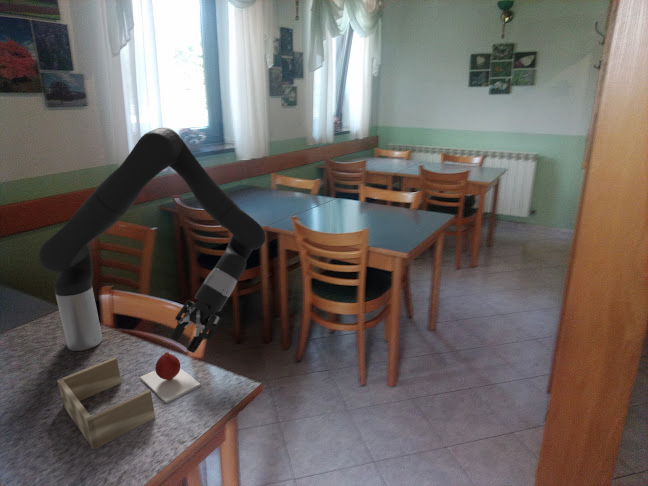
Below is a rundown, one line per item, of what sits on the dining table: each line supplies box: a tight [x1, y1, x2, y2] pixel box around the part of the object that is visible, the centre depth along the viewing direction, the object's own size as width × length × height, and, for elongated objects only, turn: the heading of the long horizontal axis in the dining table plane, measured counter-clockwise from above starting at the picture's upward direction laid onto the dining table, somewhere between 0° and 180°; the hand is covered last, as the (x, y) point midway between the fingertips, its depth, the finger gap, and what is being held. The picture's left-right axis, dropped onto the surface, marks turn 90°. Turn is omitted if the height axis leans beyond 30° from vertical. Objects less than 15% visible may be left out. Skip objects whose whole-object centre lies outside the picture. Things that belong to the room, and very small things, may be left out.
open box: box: [56, 356, 156, 450], centre depth 99 cm, size 20×13×7 cm, turn 45°
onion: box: [154, 351, 181, 380], centre depth 109 cm, size 6×6×8 cm
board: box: [139, 367, 201, 404], centre depth 110 cm, size 14×9×1 cm, turn 45°
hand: (181, 345), depth 110 cm, fingers open, 8 cm apart
